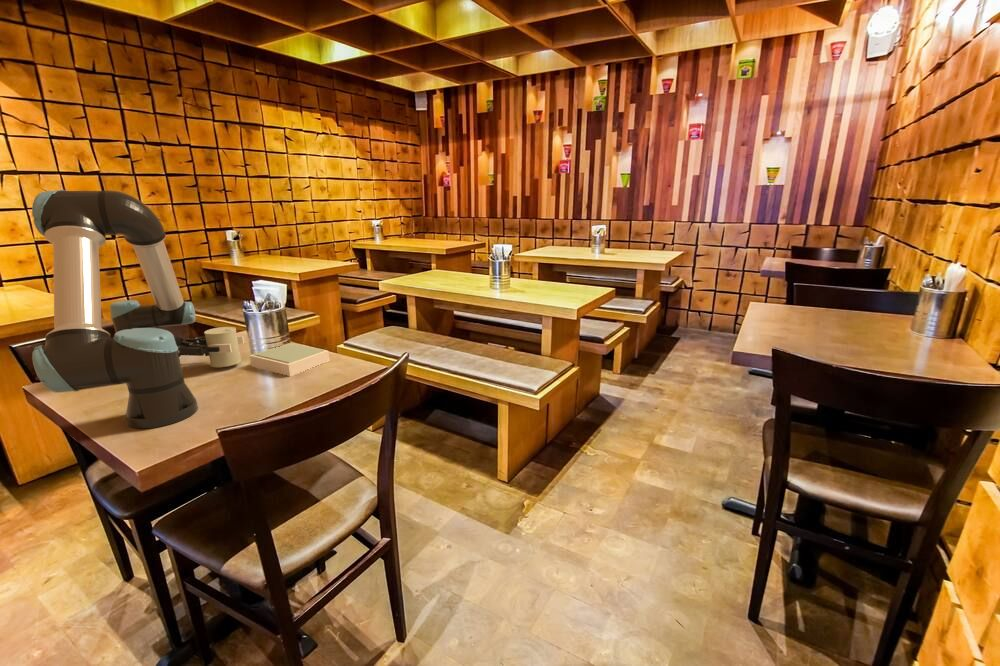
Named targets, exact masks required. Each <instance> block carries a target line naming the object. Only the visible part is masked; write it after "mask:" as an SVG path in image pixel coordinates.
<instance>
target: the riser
mask: <svg viewBox="0 0 1000 666" xmlns="http://www.w3.org/2000/svg"><path fill="white" fill-rule="evenodd" d="M279 346H280V347H278V346H275V347H276V348H275V347H272V348H269V349H265V350H262V351H259V352H256V353H253V354H249V361H250V366H251V367H253V368H256V369H259V370H263V371H268V372H271V373H275V374H278V373H279V375H282V374H283V376H286V375H287V377H292V376H295V374H296V375H299V374H301V373H303V371H304V372H306V371H308V370H307V369H309V370H311V369H313V368H312V367H314V368H316V367H315V366H317V365H319V366H321V365H320V364H322V363H325V362H327V363H329V362H328V361H330V354H329V353H330V351H329V350H326V349H322V348H316V347H312V346H309V345H303V344H297V343H293V342H288V343H285V344H282V346H281V345H279ZM330 362H331V361H330ZM325 364H326V363H325ZM322 365H323V364H322ZM317 367H318V366H317ZM310 368H311V369H310ZM305 370H306V371H305ZM300 372H301V373H300Z"/></svg>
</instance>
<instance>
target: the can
mask: <svg viewBox="0 0 1000 666" xmlns="http://www.w3.org/2000/svg"><path fill="white" fill-rule="evenodd" d="M203 334H204V337H206V342H207V346H208V345H213V344H231V349H232V352H226V353H210V352H209V356H208V358H209V364H210V366H211V367H213V368H225V367H231V366H234V365H237V364H239V363H241V362H242V357H241V353H240V346H239V344H238V340H237V336H238V334H237V328H236V327H235V326H220V327H214V328H210V329H207V330H205V331H204V332H203ZM208 347H209V346H208Z"/></svg>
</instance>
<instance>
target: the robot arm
mask: <svg viewBox="0 0 1000 666" xmlns="http://www.w3.org/2000/svg"><path fill="white" fill-rule="evenodd" d="M31 209H32V210H31V214H32V217H33V224H34V227H35V229H36V231H38V233H39V234H40V235H42V236H44V238H45V240H46V241H47V242H49V243H50V244H52V247H53V249H52V254H53V259H52V260H53V310H54V311H53V314H54V315H53V316H54V317H53V319H54V320H53V322H54V323H53V325H54V329H52V330H51V331H49V332H48V333H46V335H45V345H44V344H40V345H38V346H35V347H34V349H33V351H32V354H31V355H32V357H31V359H32V360H31V361H32V365H33V368H34V370H35V373H36V376H37V377H38V379H39V381H40V382H41V384H42V385H43V386H44V387H45V388H46V389H47V390H49V391H51V392H54V393H68V392H79V391H83V390H90V389H96V388H97V389H98V388H103V387H109V386H111V387H112V386H117V385H126V387H127V391H128V399H127V400H128V401H127V406H126V413H125V418H126V422H127V425H128V426H129V427H130V428H133V429H153V428H160V427H163V426H168V425H171V424H174V423H178V422H181V421H183V420H185V419H187V418H189V417H191V416H193V415H194V414H195V413H196V412H197V411H198V409H199V406H198V401H197V399H196V397H195V396H194V394H193V393H192V391H191V389H190V387H188V385H187V384H186V383H185V379H184V374H183V370H182V365H181V360H180V357H181V356H198V357H199V356H200V357H201V356H202V357H203V356H205V357H209V352H210V353H226V352H232V349H231V344H213V345H208V346H209V347H208V346H207V342H206V337H205V336H193V337H192V338H185V339H183V338H182V337H181V336H180V335H177V334H173V333H172V332H171V331H169V330H166V329H164V328H162V327H173V326H174V327H175V326H183V325H190V324H193V323H195V322H196V317H197V316H196V310H195V306H194V304H193V302H192V301H184V297H183V295H182V292H181V289H180V286H179V283H178V280H177V276H176V274H175V270H174V268H173V264H172V261H171V259H170V256H169V253H168V250H167V246H166V244H165V241H164V240H165V239H166V237H167V234H166V231H165V228H164V226H163V223H162V222H161V220H160V219H159V217H158V216H157V215H156V213H154V211H153V210H152V209H151V208H150V207H149V206H148V205H146V204H145V203H144V202H142V200H139V199H137V198H136V197H134V196H133V195H130V194H127V193H125V192H121V191H119V190H111V189H110V190H65V189H56V190H46V191H45V190H44V191H41V192H39V193H38V194H37V195H36V196H35V197H34V199H33V202H32V207H31ZM118 235H119V236H120V235H121V236H123V237H124V241H126V242H127V243H128V244H129V245H131V246H132V248H133V250H134V253H135V255H136V258H137V261H138V263H139V266H140V268H141V271H142V273H143V276H144V278H145V281H146V283H147V285H148V288H149V290H150V293H151V295H152V298H153V300H154V303H155V304H149V305H148V304H147V305H141V304H140V303H139V301H138V300H135V299H134V300H133V299H132V300H130V299H128V300H118V301H115V302H112V303H111V304H110V305H109V310H110V315H111V316H110V318H111V320H112V321H111V322H112V323H113V328H114V332H115V333H114V335H113V337H111V333H109V331H107V330H105V329H103V322H102V321H103V320H102V299H101V298H102V297H101V275H100V274H101V273H100V272H101V271H100V254H99V253H100V252H99V251H100V249H101V247H104V245H105V244H106V241H107V239H106V236H118ZM99 248H100V249H99ZM237 340H238V345H243V344H245V339H244V335H237Z"/></svg>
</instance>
